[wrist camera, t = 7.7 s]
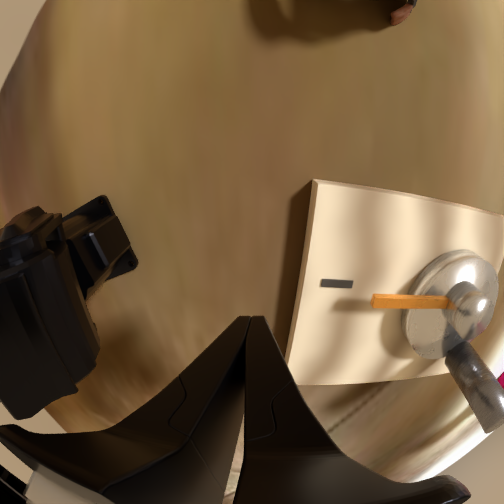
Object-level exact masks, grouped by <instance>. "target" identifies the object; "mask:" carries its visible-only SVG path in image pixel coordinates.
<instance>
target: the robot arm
mask: <svg viewBox="0 0 504 504" xmlns="http://www.w3.org/2000/svg"><path fill="white" fill-rule="evenodd" d="M101 199H102V200H103V202H104V203H103V204H102V203H101ZM130 261H132V262H133V263H134V265H132V264H131V263H130ZM137 266H138V260H137V258H136V256H135V254H134V252H133V250H132V248H131V246H130V241H129V239H128V237H127V235H126V233H125V231H124V229H123V227H122V225H121V223H120V221H119V219H118V217H117V216H116V215H115V213H114V211H113V209H112V207H111V204H110V202H109V200H108V198H107V197H106V196H105V195H100V196H98V197H97V198H95V199H93V200H91V201H90V202H88V203H86V204H85V205H83V206H81V207H80V208H78V209H76V210H75V211H73V212H71V213H70V214H68V215H67V216H65V217H63V218H62V214H61V213H57V214H53V213H49V214H47V212H46V213H45V212H44V211H43V210H42V209H41V208H40V207H39V206H36V207H32V208H30V209H28V210H26V211H24V212H22V213H20V214H18V215H16V216H15V217H14V218H13V219H12V220H11V221H10V222H9V223H7V224H6V225H5V226H4V228H2V229H0V402H2V404H3V405H4V406H5V408H6V409H7V410H8V411H9V412H10V414H11V415H12V416H13V417H14V418H15V419H16V420H21V419H27V418H31V417H33V416H34V415H35V414H37V413H38V412H39V411H40V410H41V409H43V408H44V407H45V406H47V405H48V404H50V403H51V402H53V401H55V400H57V399H59V398H61V397H63V396H67V395H71V394H75V393H77V392H78V388H77V387H76V385H75V384H77V383H79V382H80V381H81V380H83V379H84V378H85V377H86V376H88V375H89V374H90V373H91V372H92V370H93V369H94V368H95V366H96V361H95V359H96V357H97V355H98V352H99V350H100V339H99V336H98V334H97V328H96V326H95V323H94V322H93V321H92V319H91V316H90V314H89V311H88V308H87V305H86V303H85V302H86V301H87V300H88V299H89V298H90V296H91V295H92V294H93V293H94V292H95V291H96V290H97V288H98V287H99V286H100V285H101V284H102V283H103V282H104V281H106V280H108V279H111V278H113V277H116V276H118V275H121V274H123V273H126V272H128V271H131V270H134V269H135V268H136V267H137ZM243 414H244V456H243V463H242V467H241V472H240V476H239V480H238V484H237V488H236V492H235V496H234V500H233V504H462V503H464V502H465V501H467V500H468V499H469V498H470V497H471V494H470V492H469V490H468V489H467V488H466V487H465V486H464V485H463V484H462V483H461V482H459V481H458V480H456V479H455V478H453V477H452V476H450V475H442V476H437V477H433V478H430V479H426V480H423V481H419V482H414V483H400V482H395V481H392V480H389V479H387V478H385V477H383V476H382V475H380V474H378V473H376V472H374V471H372V470H370V469H369V468H367V467H365V466H363V465H362V464H360V463H358V462H356V461H355V460H353V459H351V458H350V457H348V456H347V455H345V454H344V453H343V452H342V451H341V450H340V449H339V448H338V447H337V445H336V444H335V443H334V442H333V440H332V439H331V438H330V436H329V435H328V433H327V432H326V431H325V429H324V428H323V427H322V425H321V424H320V422H319V421H318V420H317V418H316V417H315V416H314V414H313V413H312V411H311V410H310V408H309V406H308V405H307V403H306V402H305V400H304V398H303V396H302V394H301V393H300V391H299V389H298V387H297V384H296V382H295V381H294V378H293V376H292V374H291V372H290V370H289V368H288V366H287V363H286V361H285V359H284V357H283V355H282V353H281V351H280V348H279V346H278V344H277V342H276V340H275V338H274V336H273V333H272V331H271V329H270V327H269V325H268V322H267V320H266V318H265V317H264V316H252V317H251V316H239V317H237V318H236V319H235V320H234V321H233V322H232V323H231V324H230V325H229V326H228V327H227V328H226V329H225V330H224V331H223V332H222V333H221V334H220V335H219V336H218V337H217V338H216V339H215V340H214V341H213V342H212V343H211V344H210V345H209V346H208V347H207V348H206V349H205V350H204V351H203V352H202V353H201V354H200V355H199V356H198V357H197V358H196V359H195V360H194V361H193V362H192V363H191V364H190V365H189V366H188V367H187V368H186V369H185V370H183V371H182V372H181V373H180V374H179V377H176V378H175V379H174V380H173V381H172V382H171V383H170V384H169V385H167V386H166V387H165V388H164V389H163V390H162V391H161V392H160V393H158V394H157V395H156V396H155V397H153V398H152V399H151V400H149V401H148V402H147V403H146V404H144V405H143V406H141V407H140V408H139V409H137V410H136V411H135V412H133V413H132V414H130V415H129V416H128V417H126V418H125V419H123V420H122V421H120V422H119V423H117V424H116V425H114V426H112V427H110V428H108V429H105V430H101V431H94V432H81V433H65V434H64V433H63V434H39V433H33V432H29V431H27V430H25V429H23V428H21V427H20V426H18V425H15V424H8V425H1V426H0V442H1V443H2V444H3V445H4V446H5V447H6V448H7V449H9V450H10V451H11V452H12V453H13V454H14V455H15V456H16V457H18V458H19V459H20V460H21V461H22V462H24V463H25V464H26V465H27V466H28V467H30V468H31V469H32V470H33V473H32V475H31V477H30V479H29V482H28V483H27V484H25V483H24V482H23V481H21V480H20V479H18V478H17V477H16V476H14V475H13V474H12V473H10V472H9V471H8V470H6V469H5V468H4V467H3V466H1V465H0V504H222V501H223V498H224V492H225V489H226V485H227V481H228V477H229V473H230V469H231V465H232V461H233V457H234V453H235V449H236V444H237V440H238V436H239V432H240V427H241V423H242V419H243Z"/></svg>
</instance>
